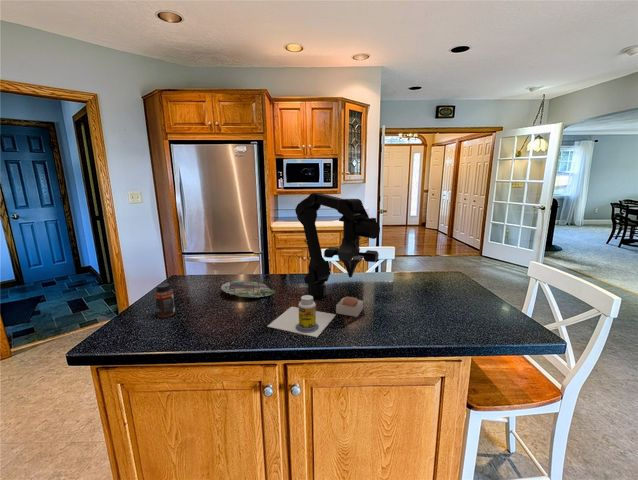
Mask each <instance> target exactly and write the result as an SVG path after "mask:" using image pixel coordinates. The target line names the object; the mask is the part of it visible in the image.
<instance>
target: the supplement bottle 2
mask: <svg viewBox="0 0 638 480" xmlns="http://www.w3.org/2000/svg"><path fill="white" fill-rule="evenodd" d="M298 308H299V327H300V328H301V329H304V330H310V329H313V328H314V327H315V325H316V311H317V310H316V308H317V305H316V302H315V301H314V299H313V296H310V295H308V294H305V295H302V296H301V297H300V301H299V302H298Z"/></svg>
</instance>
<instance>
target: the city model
mask: <svg viewBox="0 0 638 480" xmlns="http://www.w3.org/2000/svg"><path fill="white" fill-rule="evenodd" d="M220 288H221V290H222V291H223V292H225V293H226V294H228V295H229V296H238V297H243V298H260V297H268V296H271V295H276V294H275V293H276V290H275V289H272V288H270V287H269V286H267V285H266V284H264V283H261V282H260V280H258V282H257V281H246V280H245V281H244V280H234V281H229V282H225V284H224V283H223V284H222V285H221V286H220Z"/></svg>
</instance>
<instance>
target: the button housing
mask: <svg viewBox="0 0 638 480" xmlns="http://www.w3.org/2000/svg"><path fill="white" fill-rule="evenodd" d="M344 299H345V297H342V298H341V300H340V301H338V303H336V306H335V314H340V315H345V316H349V317H355V318H358V317H359V315H360V314H361V312H362V311H363V310H364V300H361V299H357V304H356V306H355V307H353V306H347V305H343V300H344Z"/></svg>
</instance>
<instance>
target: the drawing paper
mask: <svg viewBox="0 0 638 480" xmlns="http://www.w3.org/2000/svg"><path fill="white" fill-rule="evenodd" d="M336 316H337V313H330V312H324V311H319V310H316V325H315V327H314V328H313V329H310V330H304V329H301V328H300V327H299V307H298V306H297V307H296V306H290V307H289V308H288V309H287V310H285V311H284V312H283V313H282V314H281V315H279V316H278V317H276V318H275V319H274V320H272V322H270V323H269V324H268V325H267V328H271V329H272V328H273V329H277V330H280V331H281V330H282V331H285V332H290V333H295V334H298V335H304V336H309V337H312V338H318V337H319V336H320V335H321V333H322V332H324V330H325V329H326V328H327V326H328V325H329V324H330V323H331V321H333V319H334V318H335V317H336Z"/></svg>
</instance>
